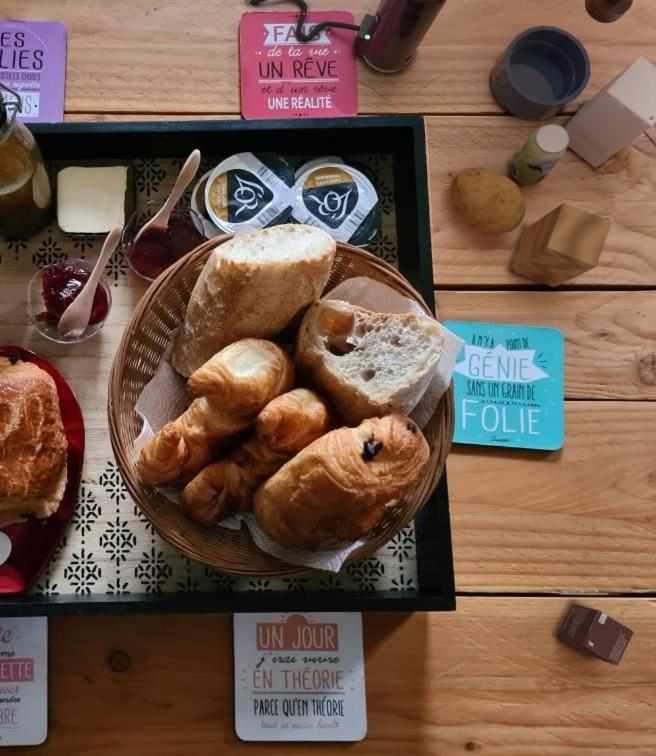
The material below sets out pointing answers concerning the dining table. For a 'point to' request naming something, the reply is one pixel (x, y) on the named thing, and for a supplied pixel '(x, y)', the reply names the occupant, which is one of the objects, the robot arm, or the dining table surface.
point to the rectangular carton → (615, 114)
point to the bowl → (540, 73)
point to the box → (595, 634)
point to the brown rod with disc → (607, 9)
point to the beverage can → (540, 154)
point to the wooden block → (561, 245)
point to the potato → (488, 199)
